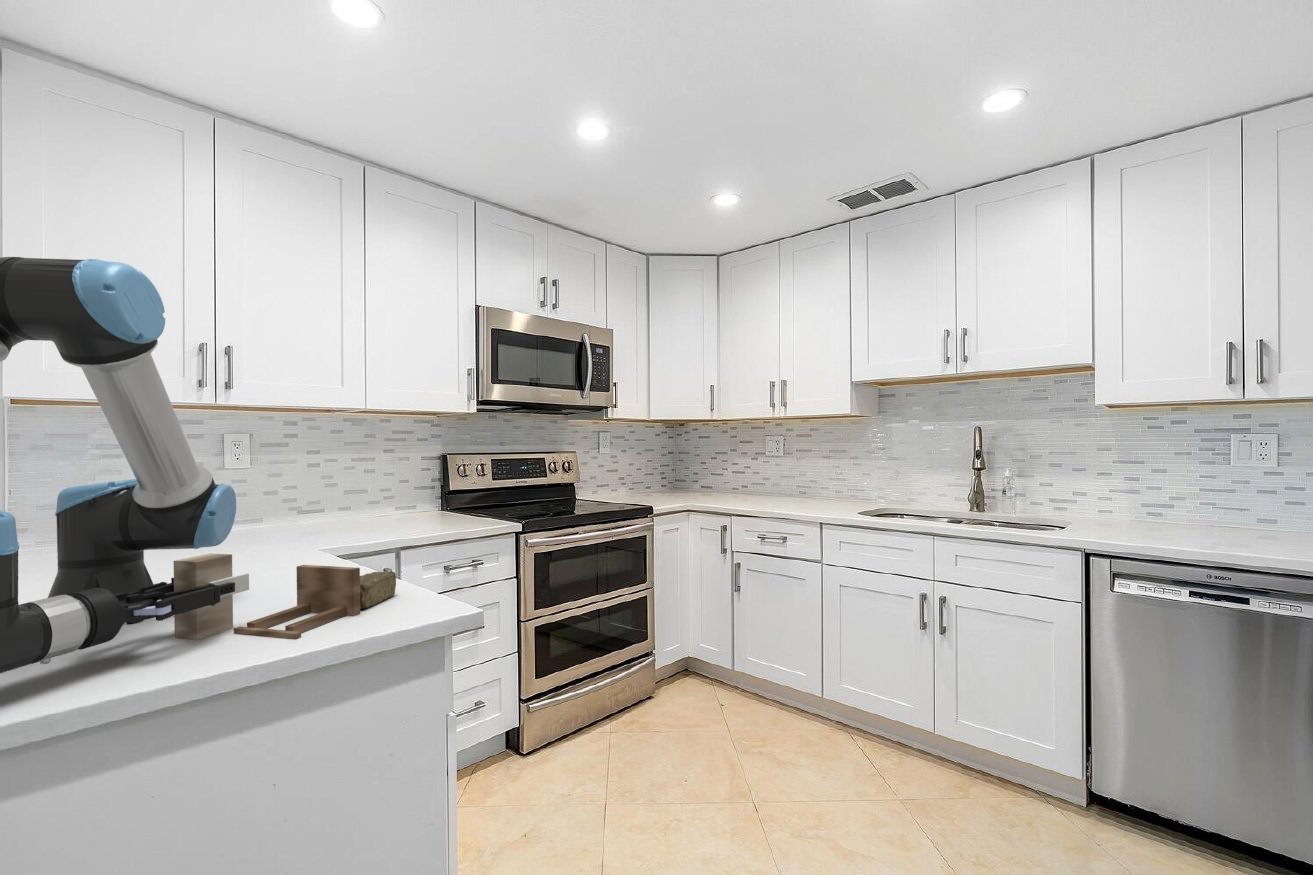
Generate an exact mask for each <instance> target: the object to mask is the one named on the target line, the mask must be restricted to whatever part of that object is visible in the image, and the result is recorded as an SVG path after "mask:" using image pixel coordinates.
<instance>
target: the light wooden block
mask: <svg viewBox="0 0 1313 875" xmlns="http://www.w3.org/2000/svg"><path fill="white" fill-rule="evenodd" d="M229 577H233V554H230V553H229V554H228V553H207V554H206V553H204V554H201V555H196V556H190V557H186V558H185V557H184V558H181V559H176V560H173V578H174V591H179V590H184V589H189V588H194V587H199V586H204V585H208V583H209V582H213V581H217V580H221V579H225V578H229ZM233 595H234V594H232V595H229V596H225V597H222V598H220V602H219V603H216V604H215V605H214V606H211V605H208V606H205V607H201V608H198V609H195V610H191V611H188V612H184V613H181V614H177V615H174V619H173V621H174V638H175V639H181V640H183V639H184V640H191V641H193V640H194V641H198V640H201V639H204V638H207V637H210V636H213V635H216V634H220V633H222V632H225V631H228V630H231V629H234V609H233V608H234V607H233V606H234V604H233V602H234V601H233V600H234V599H233Z"/></svg>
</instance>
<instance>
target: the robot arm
mask: <svg viewBox="0 0 1313 875" xmlns="http://www.w3.org/2000/svg"><path fill="white" fill-rule="evenodd" d="M164 313H166V311H165V306H164V302H163V300H162V297H161V294H160V293H159V291H158V290H157V288H156V286H155V284H154V283H153V282H152V281H151V279H150V278H149V277H148V276H147V275H145V273H143V271H141V270H139V269H137V268H135V267H134V266H132V265H130V264H127V263H124V262H119V261H108V260H107V261H106V260H103V259H96V258H87V259H70V258H67V259H66V258H40V257H36V258H35V257H23V256H22V257H21V256H2V257H1V256H0V363H1V362H3V361H5V360H6V359H7V358H8V356H9V355H10V352H11V350H12V349H13V347H14V346H16V345H17V344H20V343H23V342H25V341H42V342H43V341H46V342H47V341H48V342H52V343H54V345H55V347H56V349H57V351H58V353H59V355H60V357H61V359H62V360H63V361H64V362H65V363H67V364H69V365H71V366H74V367H78V368H81V370H82V372H83V373H84V376H85V379H86V380H87V382H88V384H89V386H90V388H91V390H92V392H93V394H94V396H95V398H96V400H97V402H98V404H99V406H100V409H101V411H102V413H103V415H104V416H105V418H106V420H107V422H108V423H107V424H109V427H110V428H111V431H112V433H113V435H114V437H115V439H116V441H117V443H118V445H119V447H120V449H121V451H122V453H123V455H124V458H125V459H126V462H127V463H128V465H129V467H130V469H131V472H132V473H133V476H134V478H130V479H121V480H114V481H108V482H100V483H99V482H98V483H91V484H85V485H76V486H69V487H66V488H63V489H62V490H61V491H60V492H59V493H58V494H57V498H56V499H57V501H56V507H55V508H56V511H55V513H54V515H55V518H56V545H57V546H56V547H57V548H56V553H57V554H56V555H57V556H56V558H57V573H56V576H55V578H54V580H53V583H52V584H51V585H52V586H51V588H50V591H49V593H48V596H47V598H42V599H37V600H34V601H29V602H25V603H20V604H19V549H20V542H19V541H18V535H17V534H18V533H17V525H16V518H15V516H14V515H13V514H12V513H11V512H10V511H6V510H1V509H0V674H2V673H7V672H10V671H14V670H16V669H19V668H21V667H25V666H28V665H31V664H37V663H40V664H41V665H47V664H49V663H50V662H51V658H54V657H60V656H62V655H63V656H64V655H66V654H70V653H73V652H75V651H77V650H78V651H79V650H84V649H88V648H91V647H95V646H98V645H101V644H104V643H108V642H110V641H112V640H114V638H115V637H116V636H117V635H118V634H119V633H120V631H121V629H122V627H123V625H125V624H126V625H127V626H128V625H134V624H141V623H142V622H144V621H145V620H150V619H154V618H155V621H156V622H161V621H164V620H167V619H169V618H171V617H173V616H174V615H177V614H181V613H184V612H188V611H191V610H195V609H198V608H201V607H205V606H208V605H211V606H214V605H215V604H216V603H219V602H220V598H222V597H225V596H229V595H232V594H233V595H235V594H239V593H242V592H243V593H244V592H245V591H250V573H247V572H246V573H241V574H237V575H234V576H233V575H232V577H229V578H225V579H221V580H217V581H213V582H209V583H208V585H204V586H199V587H194V588H189V589H184V590H179V591H174V577H171V578H170V579H171V580H170V581H171V582H170V583H168V582H167V581H161V582H157V583H154V582H153V580H152V577H151V575H150V573H149V570H148V568H147V567H146V564H145V558H144V557H145V555H144V554H145V551H149V550H185V549H186V550H189V549H194V550H198V549H201V548H211V547H216V546H218V545H220V544H223V542H224V541H225V540H226V539H227V538H228V536H229V535H230V533H231V531H232V529H233V526H234V522H235V520H236V513H237V496H236V492H235V490H234V488H233V487H232V485H229V484H225V483H220V484H217V483H216V482H215V480H214V478H213V475H212V473H211V471H210V470H209V469H207V468H206V467H204V466H201V465H198V464H197V462H196V459H195V457H194V455H193V453H192V450H191V448H190V446H189V443H188V441H187V438H186V436H185V433H184V431H183V428H182V425H181V423H180V420H179V419H178V416H177V414H176V411H175V408H174V406H173V405H172V402H171V400H170V397H169V394H168V392H167V390H166V388H165V385H164V383H163V381H162V380H163V379H162V378H161V375H160V373H159V370H158V367H157V365H156V363H155V361H154V359H153V356H152V352H153V351H154V350H155V349H156V348H157V346H158V343H159V340H158V339H159V338H160V337H161V336H162V334H163V333H164V329H165V325H166V317H165V316H164Z"/></svg>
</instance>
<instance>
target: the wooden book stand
mask: <svg viewBox="0 0 1313 875" xmlns="http://www.w3.org/2000/svg"><path fill="white" fill-rule="evenodd" d="M360 569H361V568H360V567H351V566H349V567H348V566H334V565H333V566H331V565H318V564H317V565H314V564H313V565H312V564H302V565H297V566H296V606H292V607H289V608H287V609H284V610H280V611H278V612H274V613H270V614H269V615H267V616H262V617H260V618H257V619H254V620H251V621H248V622H246V626H242V625H241V626H240V625H239V626H237V627H233V634H237V635H248V636H258V637H259V636H260V637H270V638H277V639H278V638H281V639H289V640H290V639H291V640H298V639H299V638H301V637H302V634H303V633H306V632H308V631H310V630H314V629H315V628H318V627H321V626H323V625H326V624H328V623H331V622H333V621H336V620H339V619H341V618H344V617H347V616H349V617H355V616H357V615H360V614H361V609H360V576H361V575H360V574H361V570H360ZM311 612H313V613H311ZM308 614H314V615H312V616H309V617H306V618H304V619H301V620H298V621H296V622H293V623H290V624H287V625H285V629H272V627H274V626H277V625H280V624H283V623H286V622H288V621H289V622H290V621H292V620H295V619H297V618H300V617H302V616H305V615H308ZM294 618H295V619H294ZM338 618H339V619H338Z"/></svg>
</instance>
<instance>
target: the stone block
mask: <svg viewBox="0 0 1313 875" xmlns="http://www.w3.org/2000/svg"><path fill="white" fill-rule="evenodd" d="M396 587H397V575H396V572H394V571H391V570H390V571H373V572H369V573H364V574H362V575H360V610H361V609H368V608H369V607H374V606H375V605H377V604H380V603H381V602H383V600H384V601H385V600H387V598H388V599H390V598H391V597H393V596H394V595H395V594H396ZM389 597H390V598H389Z"/></svg>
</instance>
